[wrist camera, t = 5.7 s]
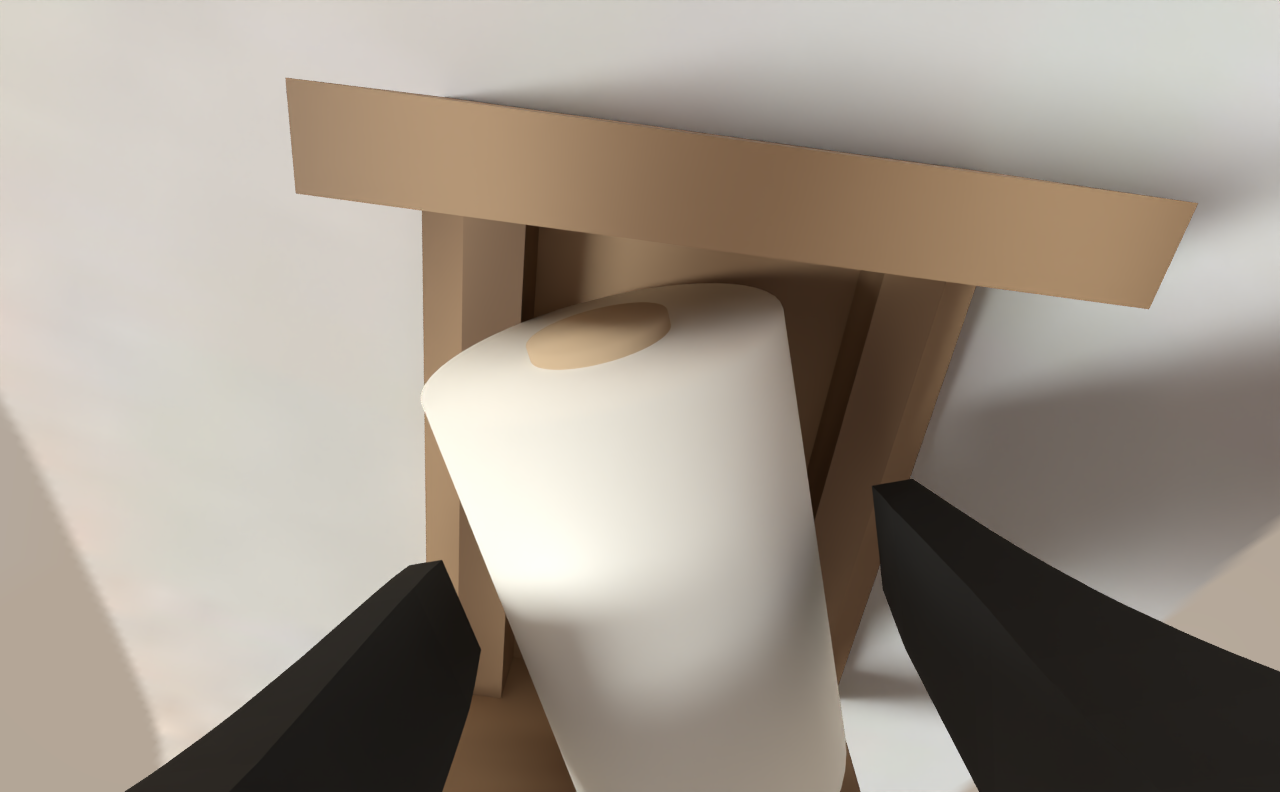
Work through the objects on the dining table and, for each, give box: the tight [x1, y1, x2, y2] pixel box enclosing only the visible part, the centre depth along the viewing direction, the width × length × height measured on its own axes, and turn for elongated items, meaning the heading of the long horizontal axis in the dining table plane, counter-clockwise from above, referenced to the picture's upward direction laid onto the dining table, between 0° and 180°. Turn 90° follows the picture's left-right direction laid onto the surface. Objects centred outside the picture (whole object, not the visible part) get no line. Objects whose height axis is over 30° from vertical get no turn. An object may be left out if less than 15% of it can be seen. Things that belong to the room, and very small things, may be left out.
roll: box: [421, 283, 846, 792], centre depth 10 cm, size 5×8×5 cm, turn 13°
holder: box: [286, 78, 1198, 792], centre depth 12 cm, size 10×13×5 cm
